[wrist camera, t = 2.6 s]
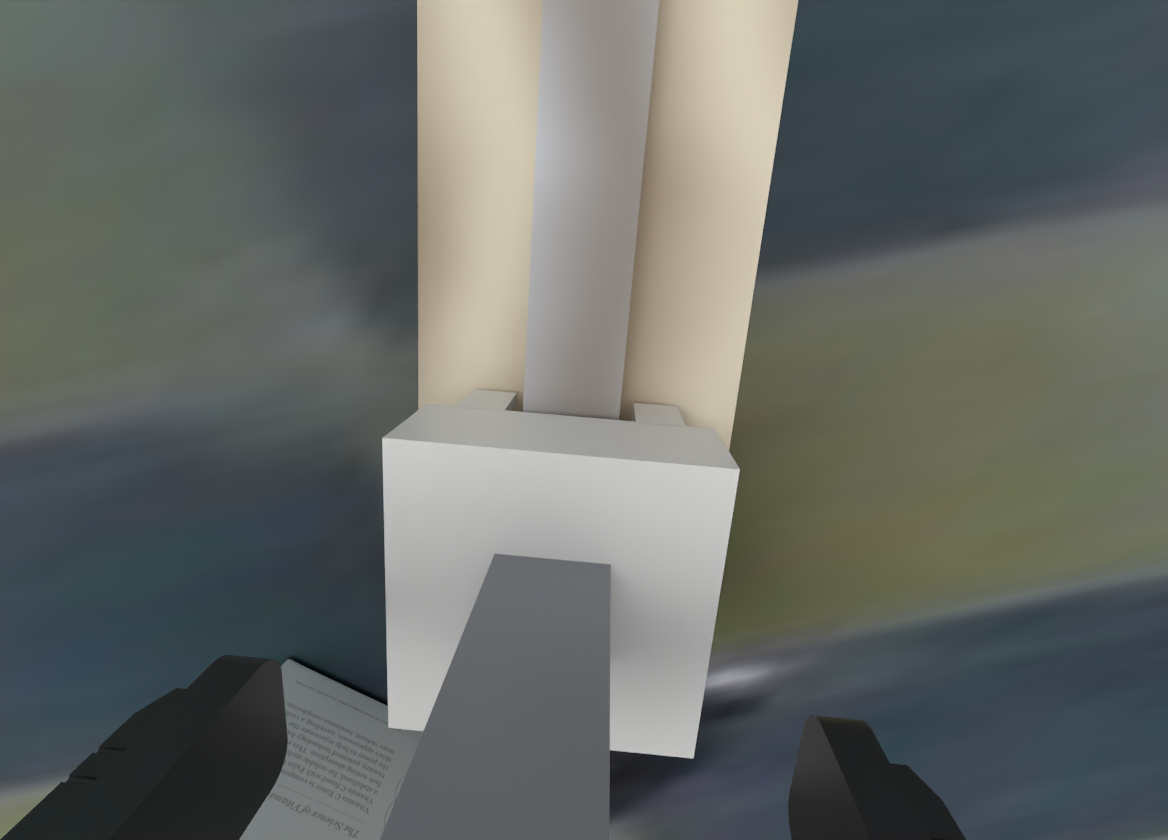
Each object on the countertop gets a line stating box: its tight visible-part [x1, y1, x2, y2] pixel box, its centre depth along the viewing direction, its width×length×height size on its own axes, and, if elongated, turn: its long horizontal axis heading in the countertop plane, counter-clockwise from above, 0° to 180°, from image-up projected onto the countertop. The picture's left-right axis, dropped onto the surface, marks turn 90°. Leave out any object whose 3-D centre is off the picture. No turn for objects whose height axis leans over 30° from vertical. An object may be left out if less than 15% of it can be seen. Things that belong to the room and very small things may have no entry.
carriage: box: [380, 389, 740, 840], centre depth 10 cm, size 7×7×13 cm
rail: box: [417, 0, 798, 451], centre depth 16 cm, size 9×24×4 cm, turn 176°
